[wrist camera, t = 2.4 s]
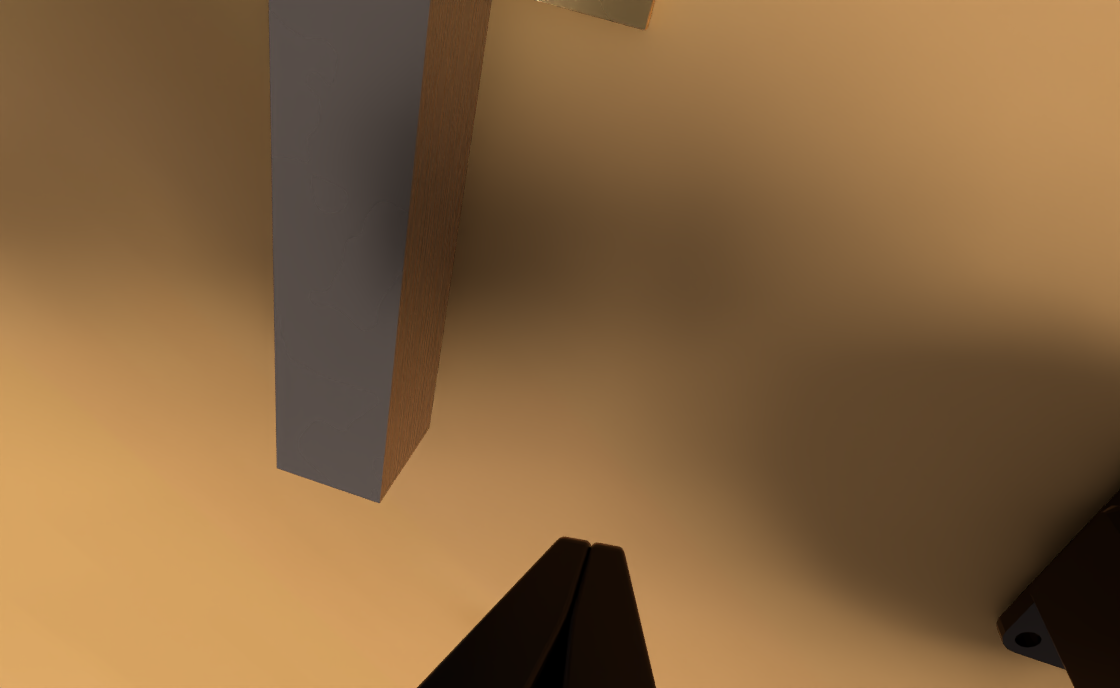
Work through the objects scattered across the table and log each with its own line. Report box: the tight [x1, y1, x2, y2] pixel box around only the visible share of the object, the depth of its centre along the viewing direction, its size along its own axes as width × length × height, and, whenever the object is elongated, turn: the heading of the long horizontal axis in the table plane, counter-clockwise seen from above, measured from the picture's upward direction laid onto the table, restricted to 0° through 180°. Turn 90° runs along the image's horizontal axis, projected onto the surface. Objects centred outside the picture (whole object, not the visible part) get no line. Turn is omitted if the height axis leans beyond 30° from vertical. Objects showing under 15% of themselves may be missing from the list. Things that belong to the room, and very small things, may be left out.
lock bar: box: [269, 0, 492, 503], centre depth 11 cm, size 14×4×3 cm, turn 168°
